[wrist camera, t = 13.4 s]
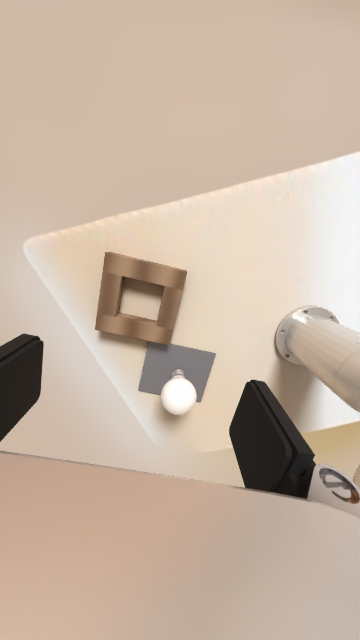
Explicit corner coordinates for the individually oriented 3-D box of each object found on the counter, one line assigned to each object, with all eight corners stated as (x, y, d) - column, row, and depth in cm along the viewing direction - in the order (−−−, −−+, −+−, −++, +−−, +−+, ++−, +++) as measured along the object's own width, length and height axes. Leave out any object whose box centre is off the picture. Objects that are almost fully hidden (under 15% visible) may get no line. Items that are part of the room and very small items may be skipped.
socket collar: (186, 270, 41) (187, 272, 38) (169, 339, 45) (169, 345, 42) (110, 252, 40) (105, 252, 37) (100, 324, 44) (94, 329, 41)
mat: (215, 353, 47) (215, 354, 46) (200, 400, 50) (200, 401, 50) (149, 339, 45) (148, 340, 45) (138, 389, 49) (138, 390, 48)
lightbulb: (187, 389, 49) (190, 427, 38) (159, 381, 48) (154, 418, 37) (197, 364, 47) (204, 397, 36) (168, 355, 46) (166, 386, 36)
